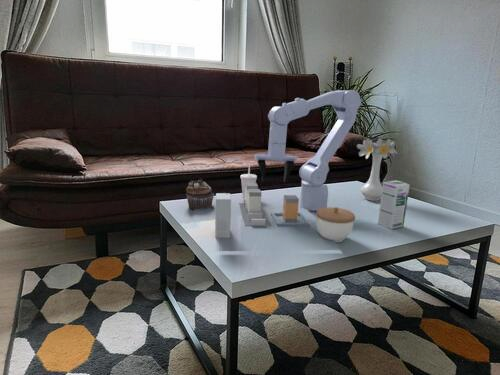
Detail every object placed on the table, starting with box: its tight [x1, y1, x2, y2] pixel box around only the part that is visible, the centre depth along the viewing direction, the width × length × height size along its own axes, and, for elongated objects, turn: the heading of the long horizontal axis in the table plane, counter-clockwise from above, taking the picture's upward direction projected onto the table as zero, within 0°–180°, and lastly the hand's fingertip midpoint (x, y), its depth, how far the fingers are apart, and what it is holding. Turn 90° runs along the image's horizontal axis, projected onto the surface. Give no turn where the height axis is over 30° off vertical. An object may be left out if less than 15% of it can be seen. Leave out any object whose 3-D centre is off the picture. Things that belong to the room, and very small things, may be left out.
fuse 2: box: [247, 188, 262, 213], centre depth 115 cm, size 4×4×8 cm
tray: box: [271, 212, 310, 227], centre depth 111 cm, size 10×10×2 cm
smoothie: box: [240, 163, 258, 200], centre depth 132 cm, size 6×6×14 cm
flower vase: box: [356, 137, 399, 202], centre depth 139 cm, size 13×18×25 cm
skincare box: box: [214, 192, 232, 239], centre depth 97 cm, size 6×4×12 cm
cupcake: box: [185, 178, 215, 211], centre depth 121 cm, size 10×10×10 cm
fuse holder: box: [238, 198, 272, 227], centre depth 116 cm, size 8×23×3 cm, turn 7°
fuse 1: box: [245, 182, 259, 206], centre depth 122 cm, size 4×4×8 cm
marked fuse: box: [281, 194, 300, 223], centre depth 110 cm, size 4×4×8 cm
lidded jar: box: [315, 206, 356, 243], centre depth 99 cm, size 11×11×9 cm
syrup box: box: [377, 180, 411, 230], centre depth 111 cm, size 6×6×14 cm
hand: (274, 181), depth 120 cm, fingers open, 7 cm apart
